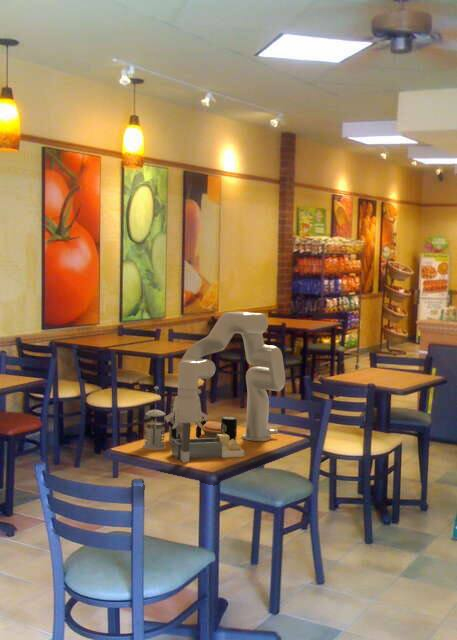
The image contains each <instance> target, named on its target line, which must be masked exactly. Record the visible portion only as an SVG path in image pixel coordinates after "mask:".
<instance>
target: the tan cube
mask: <svg viewBox="0 0 457 640" xmlns="http://www.w3.org/2000/svg"><path fill="white" fill-rule="evenodd" d="M229 437H230V436H228V435H227V434H217V439H216V442H222V446H229Z"/></svg>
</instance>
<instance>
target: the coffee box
mask: <svg viewBox="0 0 457 640" xmlns="http://www.w3.org/2000/svg"><path fill="white" fill-rule="evenodd" d="M173 407H174V401H173V402H171V404H170V406H169V414H170V413H172V412H173ZM170 422H171V423H173V417H172V418H170ZM176 429H177V433H176V439H182V430H183V423H179V424H178V425H177V426H176ZM168 431H169V434H168V437H169V438H168V443H169V444H170V445H171V444H172V439H173V438H172V436H171V427H170V426H169V430H168Z"/></svg>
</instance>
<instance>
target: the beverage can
mask: <svg viewBox="0 0 457 640" xmlns="http://www.w3.org/2000/svg"><path fill="white" fill-rule="evenodd" d="M220 423H221V434H227V435H228V436H230V437H229V441H230V440H231V439H234V440H236V441H237V437H238V436H237V433H238V432H237V430H238V420H237V417H236V416H229V415H228V416H227V415H225V416H222V419H221V422H220Z"/></svg>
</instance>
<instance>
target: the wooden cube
mask: <svg viewBox="0 0 457 640" xmlns="http://www.w3.org/2000/svg"><path fill="white" fill-rule="evenodd" d="M226 447H227V449H228V451H239V450H240V449H242V448H241V447H240V445H239V443H238V441H237V439H236V440H234V439H231V440H230V441H229V446H226Z"/></svg>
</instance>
